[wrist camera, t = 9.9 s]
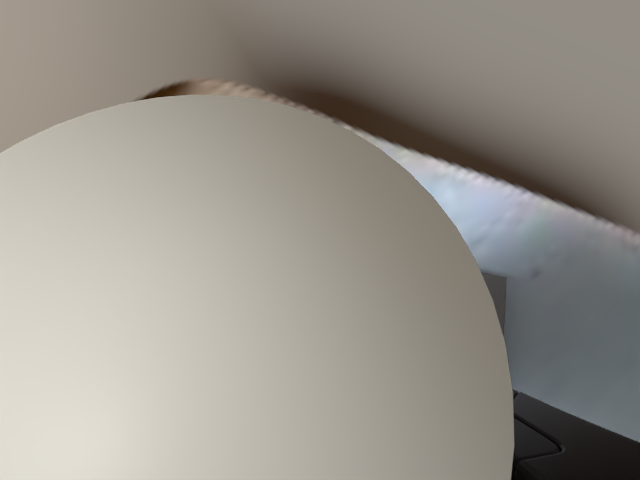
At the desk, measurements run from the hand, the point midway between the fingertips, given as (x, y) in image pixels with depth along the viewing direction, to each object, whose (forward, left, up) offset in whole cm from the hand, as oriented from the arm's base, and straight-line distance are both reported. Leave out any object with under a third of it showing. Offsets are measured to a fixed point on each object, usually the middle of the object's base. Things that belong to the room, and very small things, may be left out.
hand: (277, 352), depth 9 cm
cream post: (-1, 0, -7) cm, 7 cm away
